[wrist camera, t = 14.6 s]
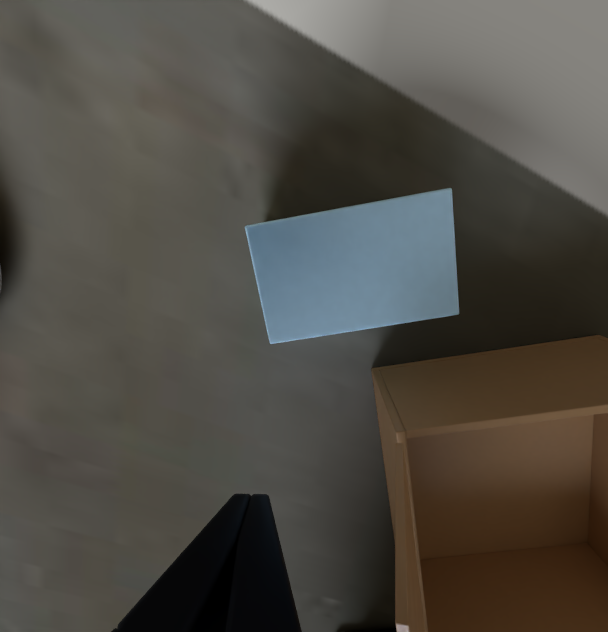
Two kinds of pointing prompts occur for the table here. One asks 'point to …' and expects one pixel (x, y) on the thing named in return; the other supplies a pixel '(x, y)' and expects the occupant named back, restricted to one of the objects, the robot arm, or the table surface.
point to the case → (357, 266)
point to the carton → (505, 484)
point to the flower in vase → (0, 279)
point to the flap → (405, 555)
